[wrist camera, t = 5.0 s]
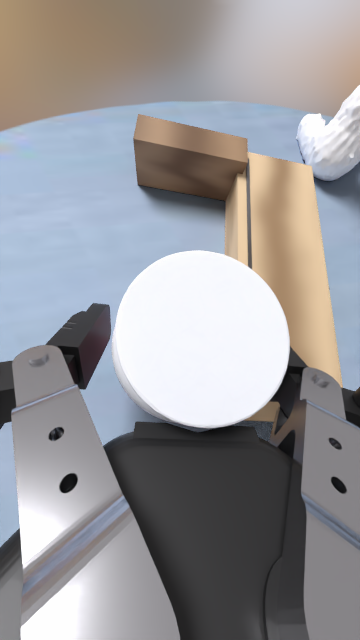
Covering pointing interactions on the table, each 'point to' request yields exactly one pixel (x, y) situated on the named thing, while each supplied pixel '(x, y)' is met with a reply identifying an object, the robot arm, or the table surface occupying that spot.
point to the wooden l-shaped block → (253, 224)
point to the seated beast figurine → (332, 140)
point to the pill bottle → (200, 340)
